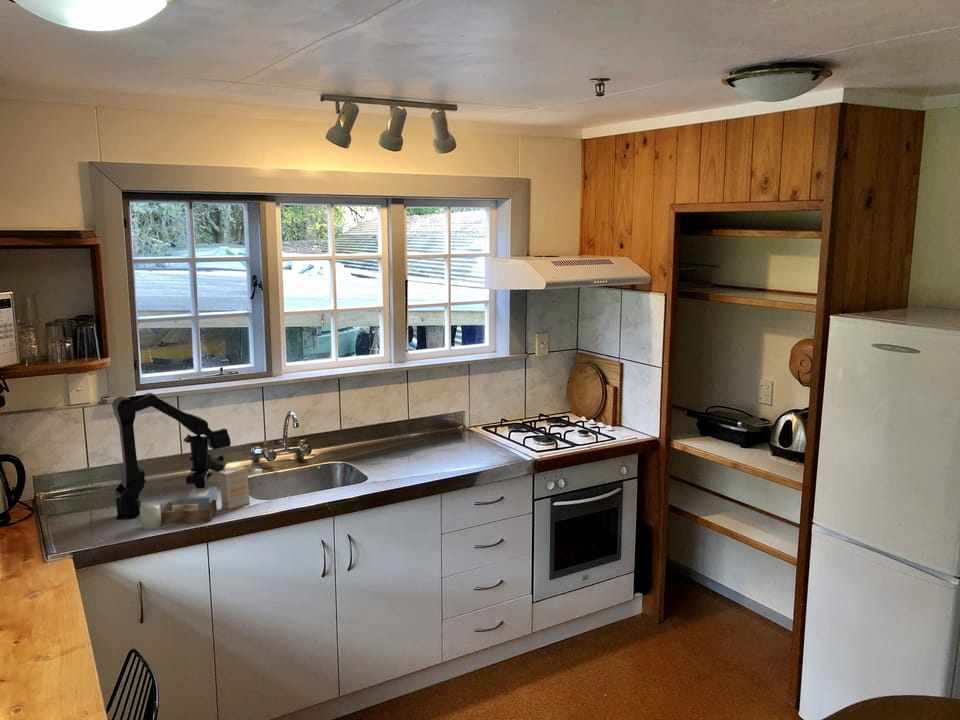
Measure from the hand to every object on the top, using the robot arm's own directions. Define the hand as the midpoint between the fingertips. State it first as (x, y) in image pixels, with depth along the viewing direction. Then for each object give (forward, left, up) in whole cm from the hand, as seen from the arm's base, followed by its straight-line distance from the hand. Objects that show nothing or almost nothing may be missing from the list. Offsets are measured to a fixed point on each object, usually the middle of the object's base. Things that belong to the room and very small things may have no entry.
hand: (203, 495), depth 268 cm
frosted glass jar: (-10, -25, -1) cm, 27 cm away
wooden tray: (0, -19, -1) cm, 19 cm away
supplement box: (+13, -10, -2) cm, 17 cm away
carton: (+1, -8, -2) cm, 8 cm away
